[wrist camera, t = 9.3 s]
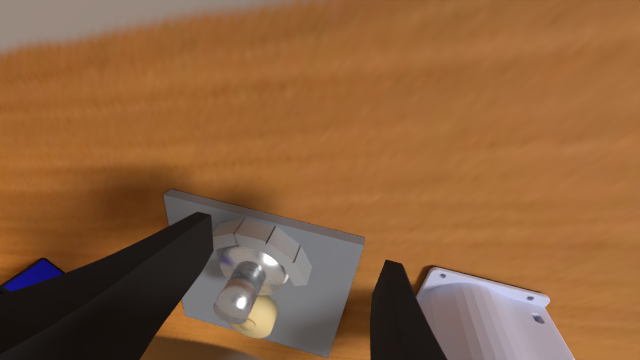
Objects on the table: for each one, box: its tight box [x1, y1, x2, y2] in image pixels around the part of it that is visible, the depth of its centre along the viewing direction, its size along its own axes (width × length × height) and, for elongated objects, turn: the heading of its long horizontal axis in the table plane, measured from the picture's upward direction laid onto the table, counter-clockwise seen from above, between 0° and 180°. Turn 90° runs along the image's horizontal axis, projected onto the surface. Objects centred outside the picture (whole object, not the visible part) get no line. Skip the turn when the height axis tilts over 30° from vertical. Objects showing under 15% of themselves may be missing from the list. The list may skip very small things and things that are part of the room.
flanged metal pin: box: [213, 245, 287, 325], centre depth 23 cm, size 6×6×6 cm
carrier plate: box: [163, 189, 365, 358], centre depth 27 cm, size 18×18×3 cm
